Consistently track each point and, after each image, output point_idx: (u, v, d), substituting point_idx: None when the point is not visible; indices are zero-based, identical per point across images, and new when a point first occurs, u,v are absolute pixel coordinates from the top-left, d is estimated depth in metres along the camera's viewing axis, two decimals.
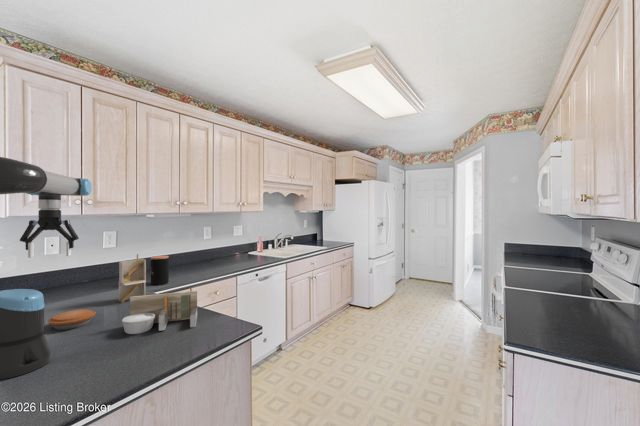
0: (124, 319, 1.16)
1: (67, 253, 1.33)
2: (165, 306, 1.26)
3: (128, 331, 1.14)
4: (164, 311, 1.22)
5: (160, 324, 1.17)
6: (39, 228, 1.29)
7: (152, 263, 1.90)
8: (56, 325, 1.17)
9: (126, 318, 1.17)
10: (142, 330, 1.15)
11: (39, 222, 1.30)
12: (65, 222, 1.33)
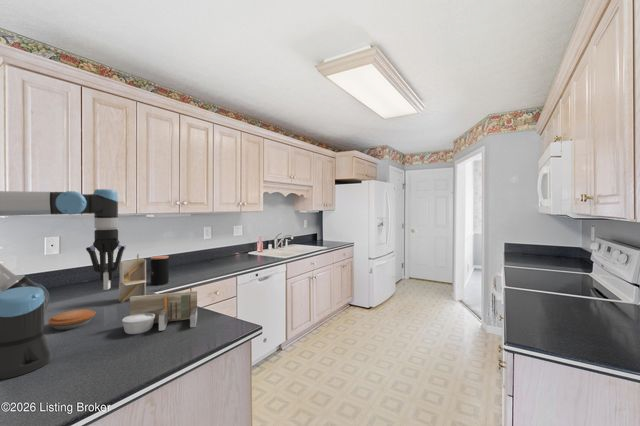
0: (124, 319, 1.16)
1: (107, 286, 1.14)
2: (165, 306, 1.26)
3: (128, 331, 1.14)
4: (164, 311, 1.22)
5: (160, 324, 1.17)
6: (101, 252, 1.13)
7: (152, 263, 1.90)
8: (56, 325, 1.17)
9: (126, 318, 1.17)
10: (142, 330, 1.15)
11: (95, 244, 1.13)
12: (121, 248, 1.16)
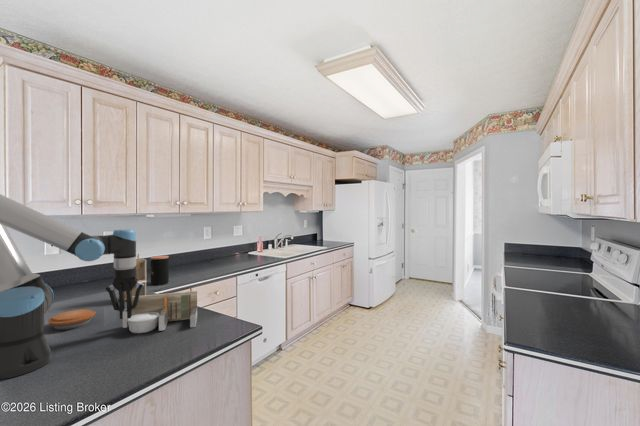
0: (129, 318, 1.17)
1: (125, 324, 1.16)
2: (165, 306, 1.26)
3: (133, 330, 1.14)
4: (164, 311, 1.22)
5: (160, 324, 1.17)
6: (120, 291, 1.15)
7: (152, 263, 1.90)
8: (56, 325, 1.17)
9: (131, 317, 1.18)
10: (147, 329, 1.16)
11: (115, 284, 1.15)
12: (139, 286, 1.18)
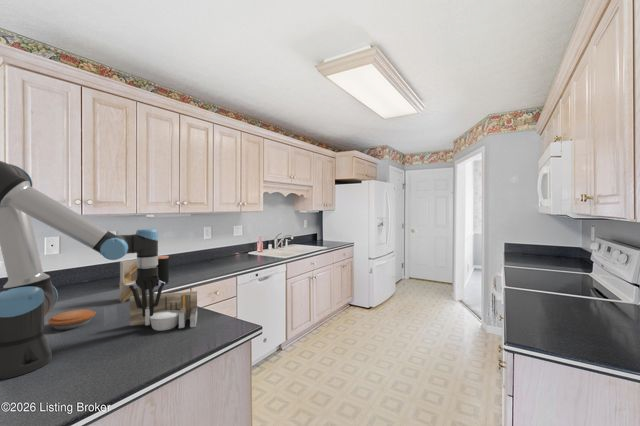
0: (151, 316, 1.19)
1: (148, 322, 1.19)
2: (183, 304, 1.29)
3: (156, 327, 1.17)
4: (183, 309, 1.24)
5: (180, 322, 1.19)
6: (143, 290, 1.18)
7: None
8: (56, 325, 1.17)
9: (153, 315, 1.20)
10: (169, 326, 1.19)
11: (138, 282, 1.18)
12: (161, 285, 1.20)
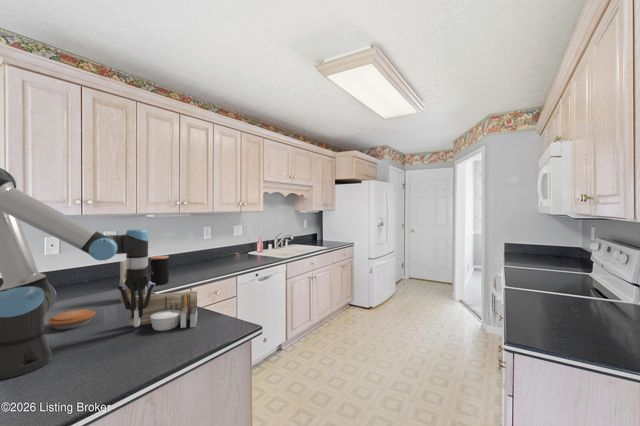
0: (152, 316, 1.19)
1: (137, 323, 1.17)
2: (185, 304, 1.29)
3: (157, 328, 1.17)
4: (185, 309, 1.24)
5: (182, 321, 1.19)
6: (132, 291, 1.16)
7: (152, 263, 1.90)
8: (56, 325, 1.17)
9: (154, 315, 1.20)
10: (170, 327, 1.19)
11: (127, 283, 1.16)
12: (151, 286, 1.19)
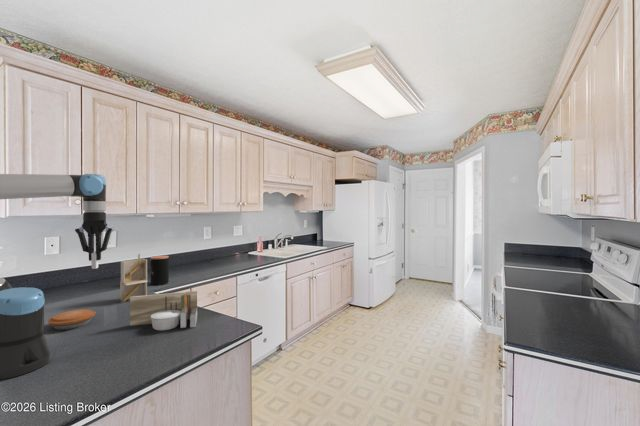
0: (152, 316, 1.19)
1: (94, 265, 1.21)
2: (185, 304, 1.29)
3: (156, 327, 1.17)
4: (185, 309, 1.24)
5: (182, 321, 1.19)
6: (89, 233, 1.20)
7: (152, 263, 1.90)
8: (56, 325, 1.17)
9: (154, 315, 1.21)
10: (170, 326, 1.19)
11: (84, 226, 1.20)
12: (108, 230, 1.22)
